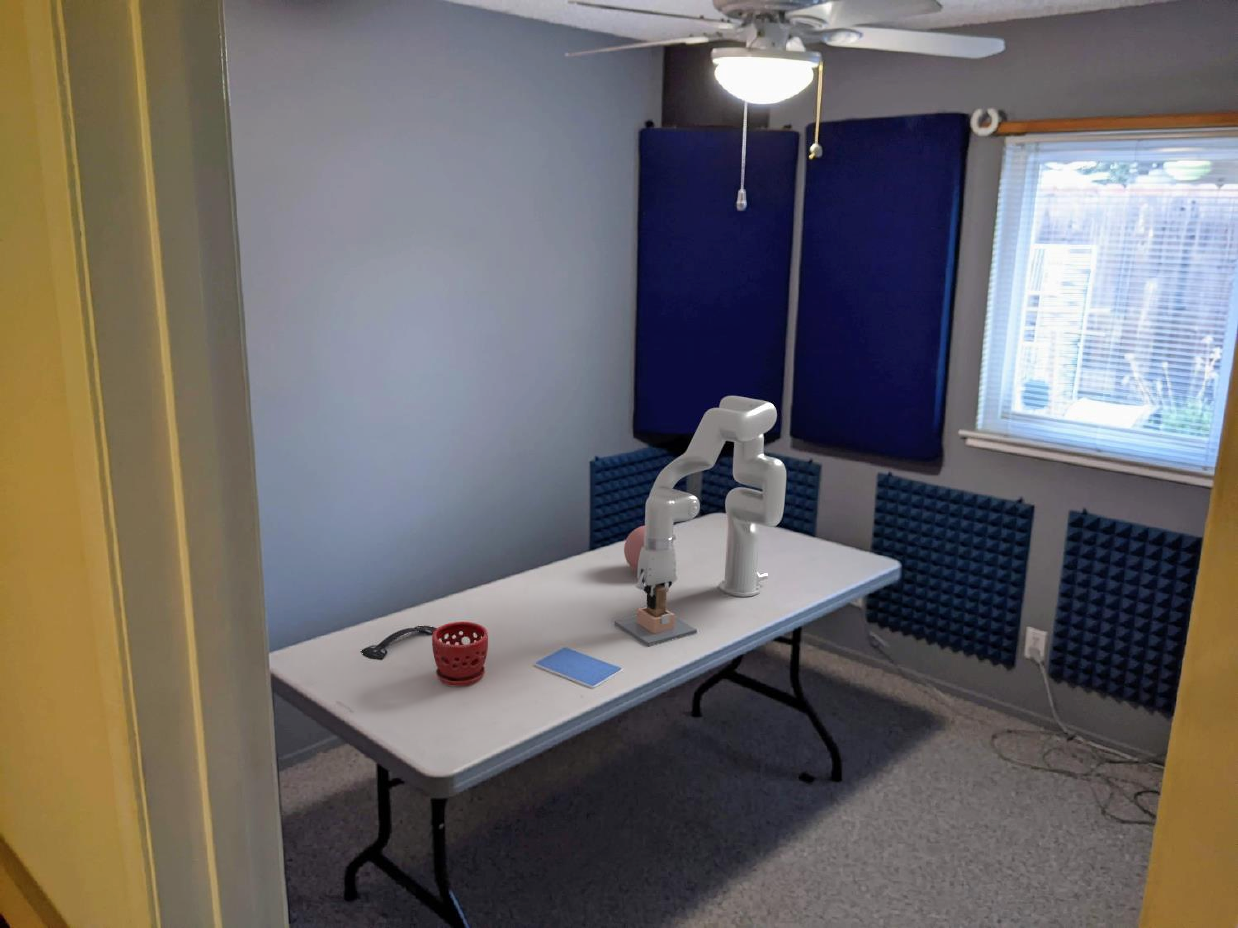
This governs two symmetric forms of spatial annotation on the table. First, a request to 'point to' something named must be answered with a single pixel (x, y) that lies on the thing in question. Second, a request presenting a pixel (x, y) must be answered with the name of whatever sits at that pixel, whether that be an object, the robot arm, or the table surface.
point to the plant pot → (460, 653)
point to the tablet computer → (578, 667)
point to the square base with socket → (654, 627)
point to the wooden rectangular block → (659, 602)
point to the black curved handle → (379, 650)
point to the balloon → (634, 546)
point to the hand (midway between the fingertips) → (656, 605)
